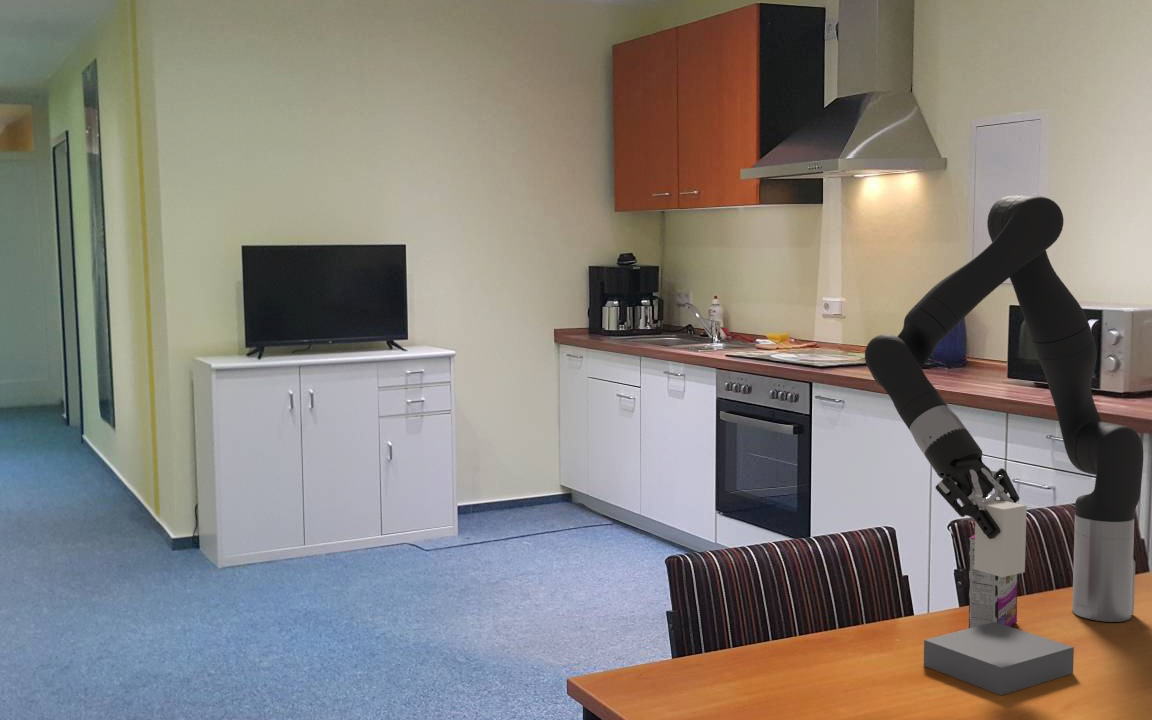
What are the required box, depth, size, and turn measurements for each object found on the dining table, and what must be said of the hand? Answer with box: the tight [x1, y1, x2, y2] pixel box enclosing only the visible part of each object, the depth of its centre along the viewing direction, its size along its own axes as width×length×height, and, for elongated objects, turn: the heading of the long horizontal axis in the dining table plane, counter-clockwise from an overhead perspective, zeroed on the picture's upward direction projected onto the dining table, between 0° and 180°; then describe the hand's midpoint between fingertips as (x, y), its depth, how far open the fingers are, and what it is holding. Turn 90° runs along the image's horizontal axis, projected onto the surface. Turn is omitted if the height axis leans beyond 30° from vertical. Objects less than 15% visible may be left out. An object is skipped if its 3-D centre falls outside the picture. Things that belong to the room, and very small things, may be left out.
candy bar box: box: [968, 534, 1018, 629], centre depth 186 cm, size 11×5×16 cm, turn 143°
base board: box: [923, 622, 1075, 696], centre depth 168 cm, size 16×14×4 cm
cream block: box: [974, 499, 1027, 577], centre depth 166 cm, size 5×5×10 cm
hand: (1008, 532), depth 165 cm, fingers closed on cream block, 5 cm apart
